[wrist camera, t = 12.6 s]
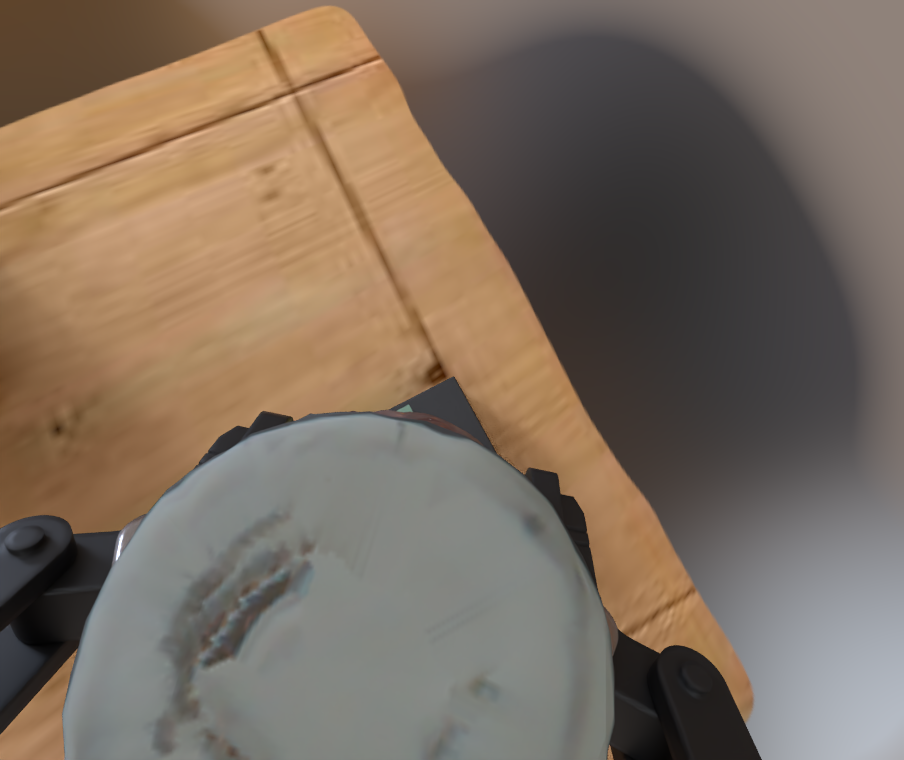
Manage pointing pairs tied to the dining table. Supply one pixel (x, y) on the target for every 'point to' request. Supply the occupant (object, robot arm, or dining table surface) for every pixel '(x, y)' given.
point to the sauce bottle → (346, 609)
